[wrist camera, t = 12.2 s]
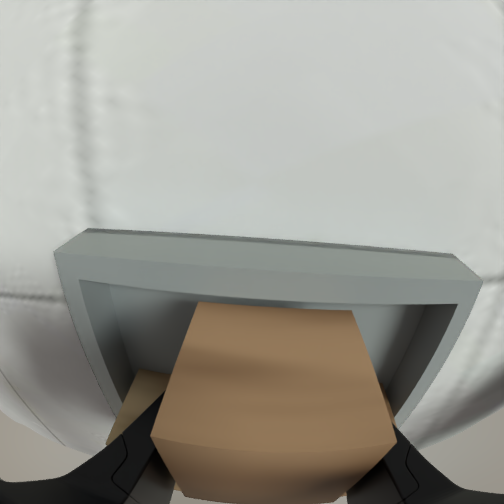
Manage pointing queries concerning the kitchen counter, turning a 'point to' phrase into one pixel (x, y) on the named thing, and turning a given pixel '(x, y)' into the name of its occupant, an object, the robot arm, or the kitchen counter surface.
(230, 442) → the block
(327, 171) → the kitchen counter surface
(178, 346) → the tray
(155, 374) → the block
